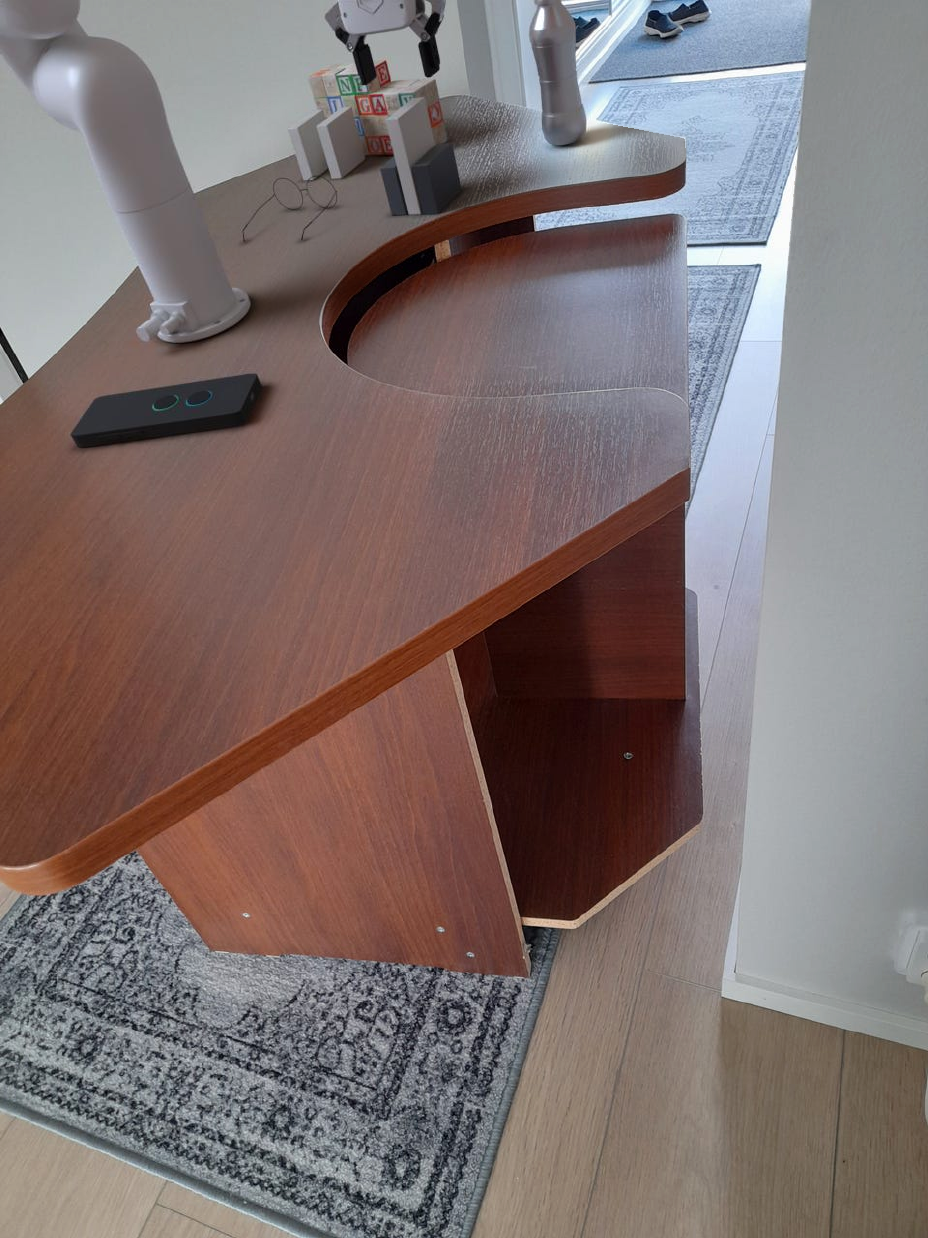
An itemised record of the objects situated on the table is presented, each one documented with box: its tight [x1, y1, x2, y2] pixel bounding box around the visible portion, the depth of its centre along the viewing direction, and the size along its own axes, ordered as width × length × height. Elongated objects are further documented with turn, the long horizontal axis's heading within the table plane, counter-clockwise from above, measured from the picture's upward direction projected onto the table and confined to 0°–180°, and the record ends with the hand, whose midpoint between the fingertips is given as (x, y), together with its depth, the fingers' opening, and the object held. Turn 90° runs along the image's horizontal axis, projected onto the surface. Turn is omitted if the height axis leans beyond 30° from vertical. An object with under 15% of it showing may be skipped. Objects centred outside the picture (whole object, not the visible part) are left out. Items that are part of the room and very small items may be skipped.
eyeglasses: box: [242, 175, 338, 243], centre depth 132 cm, size 11×13×5 cm
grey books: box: [379, 141, 463, 216], centre depth 127 cm, size 8×8×6 cm
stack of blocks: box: [307, 59, 448, 156], centre depth 147 cm, size 21×6×12 cm, turn 55°
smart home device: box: [70, 373, 263, 448], centre depth 98 cm, size 8×2×20 cm
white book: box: [386, 97, 435, 216], centre depth 125 cm, size 8×2×12 cm, turn 155°
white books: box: [287, 107, 366, 181], centre depth 146 cm, size 8×8×8 cm
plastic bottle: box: [528, 0, 588, 146], centre depth 128 cm, size 6×7×20 cm
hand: (400, 77), depth 118 cm, fingers open, 9 cm apart
